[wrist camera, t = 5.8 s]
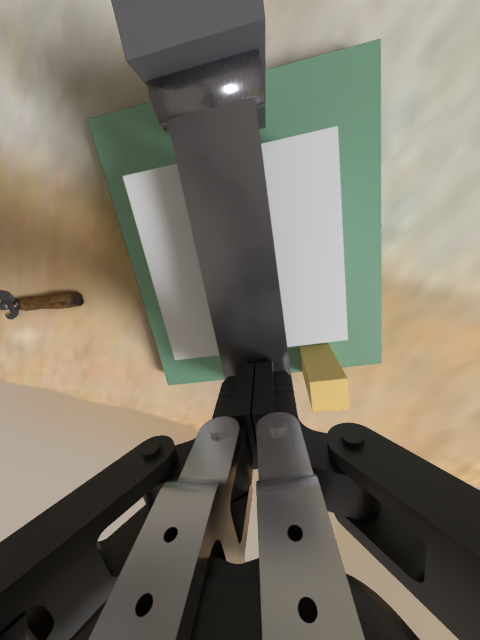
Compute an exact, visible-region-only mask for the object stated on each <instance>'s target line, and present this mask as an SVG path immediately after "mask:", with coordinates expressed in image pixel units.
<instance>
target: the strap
mask: <svg viewBox="0 0 480 640" xmlns="http://www.w3.org/2000/svg"><path fill="white" fill-rule="evenodd" d="M148 87H149V94H150V98H151V102H152V106H153V109H154V112H155V114H156V117H157V119H158V121H159V123H160V125H161V127H162V128H163V130H164V131H170V135H171V140H172V144H173V149H174V153H175V158H176V162H177V167H178V171H179V176H180V180H181V185H182V189H183V194H184V198H185V203H186V207H187V212H188V216H189V221H190V225H191V230H192V234H193V239H194V243H195V248H196V252H197V257H198V261H199V266H200V270H201V275H202V279H203V284H204V288H205V293H206V297H207V302H208V306H209V311H210V315H211V320H212V324H213V329H214V333H215V338H216V342H217V347H218V351H219V356H220V360H221V365H222V369H223V374H224V378H225V380H226V379H227V377H228V376H236V375H237V371H238V366H239V364H246V363H255V364H256V362H263V361H272V362H273V369H274V371H283V370H285V371H286V372H287V373H288V374H289V375H290V376H291V372H290V364H289V356H288V349H287V341H286V333H285V325H284V318H283V310H282V302H281V294H280V287H279V279H278V271H277V263H276V256H275V248H274V240H273V232H272V225H271V217H270V209H269V201H268V194H267V186H266V178H265V170H264V163H263V155H262V147H261V140H260V132H259V124H258V116H257V109H256V108H259V107H263V106H265V97H264V86H263V76H262V67H261V59H260V52H259V49H256V50H252V51H246V52H242V53H239V54H235V55H232V56H228V57H225V58H221V59H218V60H214V61H211V62H207V63H204V64H200V65H197V66H194V67H190V68H187V69H183V70H180V71H176V72H173V73H169V74H166V75H162V76H159V77H158V78H155V79H151V80H149V82H148Z"/></svg>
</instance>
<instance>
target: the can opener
mask: <svg viewBox="0 0 480 640" xmlns="http://www.w3.org/2000/svg"><path fill="white" fill-rule="evenodd" d="M0 300H1V303H0V310H6V309H9V310H10V311H11V315H10V316H7V315H5V316H6V318H8V319H14V318H16V317H17V315H18V310H25V311H28V310H37V309H61V308H71V307H76V306H81V305H82V304H83V303H84V301H83V297H82V295H81V294H80V293H63V294H54V295H48V296H43V297H32V298H22V299H20V300H16V299H14V298H13V297H12V295H11V294H10V293H9V292H7V291H3V290H0Z"/></svg>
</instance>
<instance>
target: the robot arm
mask: <svg viewBox="0 0 480 640" xmlns="http://www.w3.org/2000/svg"><path fill="white" fill-rule="evenodd" d="M253 469H258V472H259V481H257V484H256V490H257V517H258V541H259V558H258V559H255V560H252V561H249V562H246V563H245V547H246V540H247V532H248V524H249V516H250V508H251V501H252V493H253V488H252V472H253ZM142 497H143V498H144V500H145V503H146V505H145V506H144V507H143V508H141V509H140V510H139V511H138V512H137V513H136V514H134V515H133V516H132V517H131V518H130V519H129V520H128V521H126V522H125V523H124V524H123V525H122V526H121V527H120V528H118V529H117V530H116V531H115V532H114V533H113V534H112V535H111V536H109V537H108V538H107V539H105V540H103V541H99V542H98V541H97V540H98V538H99V536H100V534H101V533H102V532H103V531H104V530H105V529H106V528H107V527H108V526H109V525H110V524H111V523H113V522H114V521H115V520H116V519H117V518H118V517H120V516H121V515H122V514H123V513H124V512H126V511H127V510H128V509H129V508H130V507H131V506H133V505H134V504H135V503H136V502H137V501H138V500H140V498H142ZM328 511H329V512H333V513H334V514H335V516H336V518H337V520H338V521H339V522H340V524H341V525H342V526H343V527H345V529H346V530H347V531H348V532H350V534H352V535H353V536H354V537H355V538H356V539H357V540H358V541H359V542H360V543H361V544H362V545H363V546H364V547H365V548H366V549H367V550H368V551H369V552H370V553H371V554H372V555H373V556H374V557H375V558H376V559H377V560H378V561H379V562H380V563H382V564H383V566H385V568H386V569H387V570H388V571H389V572H391V574H392V575H394V576H395V577H396V578H397V579H398V580H399V581H400V582H401V583H402V584H403V585H404V586H405V587H406V588H407V589H408V590H409V591H410V592H411V593H412V594H413V595H414V596H415V597H416V598H417V599H418V600H419V601H420V602H421V603H422V604H423V605H424V606H425V607H427V609H428V610H429V611H430V612H432V613H433V615H434V616H436V617H437V618H438V619H439V620H440V621H441V622H442V623H443V624H444V625H445V626H446V627H447V628H448V629H449V630H450V631H451V632H452V633H453V634H454V635H455V636H456V637H457V638H458V639H459V640H480V490H478V489H476V488H474V487H473V486H471V485H469V484H467V483H465V482H464V481H462V480H460V479H458V478H456V477H455V476H453V475H451V474H449V473H447V472H446V471H444V470H442V469H440V468H439V467H437V466H435V465H433V464H431V463H430V462H428V461H426V460H424V459H422V458H421V457H419V456H417V455H415V454H413V453H412V452H410V451H408V450H406V449H405V448H403V447H401V446H399V445H397V444H396V443H394V442H392V441H390V440H388V439H387V438H385V437H383V436H381V435H379V434H378V433H376V432H374V431H372V430H371V429H369V428H367V427H365V426H362V425H360V424H355V423H341V424H338V425H335V426H334V427H332V428H331V429H330V430H329V431H328V433H322V432H317V431H314V430H311V429H309V428H307V427H306V426H304V425H303V424H302V423H301V422H300V420H299V418H298V415H297V409H296V403H295V397H294V391H293V385H292V379H291V376H290V375H289V374H288V373H287V372H286V371H285V370H283V371H274V369H273V362H272V361H263V362H256V364H255V363H246V364H239V366H238V371H237V375H236V376H228V377H227V379H226V380H225V381H224V382H223V383H222V386H221V389H220V393H219V396H218V400H217V403H216V407H215V410H214V414H213V417H212V419H211V420H209V421H208V422H206V423H205V424H204V425H203V426H202V427H201V428H200V430H199V432H198V435H197V437H196V438H195V439H193V440H191V441H188V442H185V443H182V444H179V445H174V442H173V440H172V439H171V438H170V437H168V436H155V437H152V438H150V439H147V440H146V441H144V442H142V443H141V444H140V445H138V446H137V447H135V448H134V449H133V450H131V451H130V452H128V453H127V454H125V455H124V456H122V457H121V458H120V459H119V460H117V461H115V462H114V463H112V464H111V465H110V466H108V467H107V468H105V469H104V470H103V471H101V472H100V473H98V474H97V475H95V476H94V477H93V478H91V479H90V480H88V481H87V482H85V483H84V484H83V485H81V486H80V487H78V488H77V489H75V490H74V491H73V492H71V493H70V494H68V495H67V496H65V497H64V498H63V499H61V500H60V501H58V502H57V503H56V504H54V505H53V506H51V507H50V508H49V509H47V510H46V511H44V512H43V513H41V514H40V515H38V516H37V517H36V518H34V519H33V520H31V521H30V522H29V523H27V524H26V525H24V526H23V527H21V528H20V529H19V530H17V531H16V532H14V533H13V534H12V535H10V536H9V537H7V538H6V539H4V540H3V541H1V542H0V640H420V639H419V638H418V637H417V636H416V635H415V634H414V632H413V631H412V630H411V629H410V628H409V627H408V626H407V624H406V623H405V622H404V621H403V620H402V619H401V618H400V616H399V615H398V614H397V613H396V612H395V611H394V610H393V609H392V608H391V607H390V606H389V605H388V604H387V603H386V602H385V601H384V600H383V599H382V598H381V597H380V596H379V595H378V594H377V593H375V592H374V591H373V590H371V589H370V588H369V587H368V586H366V585H365V584H364V583H362V582H360V581H359V580H357V579H356V578H354V577H352V576H350V575H348V574H346V573H345V570H344V566H343V563H342V560H341V556H340V553H339V549H338V546H337V542H336V539H335V535H334V532H333V529H332V525H331V522H330V518H329V515H328Z"/></svg>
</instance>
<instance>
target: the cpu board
mask: <svg viewBox="0 0 480 640" xmlns="http://www.w3.org/2000/svg"><path fill="white" fill-rule="evenodd" d="M111 2H112V6H113V10H114V14H115V18H116V22H117V26H118V30H119V34H120V38H121V42H122V46H123V50H124V54H125V58H126V61H127V62H128V64H129V65H130V66H131V67H132V68H133V69H134V71H135V72H136V73H137V74H138V75H139V77H140V78H141V79H142V80H143V81H144V83H145V84H146V85H147V86H148V82H149V80H151V79H155V78H158V77H159V76H162V75H166V74H169V73H173V72H176V71H180V70H183V69H187V68H190V67H194V66H197V65H200V64H204V63H207V62H211V61H214V60H218V59H221V58H225V57H228V56H232V55H235V54H239V53H242V52H246V51H252V50H256V49H259V52H260V59H261V67H262V76H263V86H264V97H265V106H263V107H259V108H256V109H257V116H258V124H259V132H260V140H261V147H262V155H263V163H264V170H265V178H266V186H267V194H268V201H269V209H270V217H271V225H272V232H273V240H274V248H275V256H276V263H277V271H278V279H279V287H280V294H281V302H282V310H283V318H284V325H285V333H286V341H287V349H288V356H289V364H290V372H291V373H292V372H303V376H304V380H305V384H306V388H307V392H308V396H309V400H310V404H311V408H312V412H319V411H332V410H344V409H349V401H348V382H347V377H346V375H345V373H344V371H343V369H342V368H341V367H350V366H360V365H370V364H379V363H382V362H381V45H380V39H377V40H374V41H370V42H366V43H363V44H359V45H355V46H352V47H348V48H344V49H341V50H337V51H333V52H330V53H326V54H323V55H319V56H315V57H312V58H308V59H304V60H301V61H297V62H293V63H290V64H286V65H283V66H279V67H275V68H272V69H268V70H265V13H264V4H263V0H111ZM88 123H89V126H90V129H91V132H92V136H93V139H94V142H95V146H96V149H97V152H98V155H99V159H100V162H101V165H102V169H103V172H104V175H105V179H106V182H107V185H108V188H109V192H110V195H111V198H112V202H113V205H114V208H115V211H116V215H117V218H118V221H119V225H120V228H121V231H122V234H123V238H124V241H125V244H126V248H127V251H128V254H129V257H130V261H131V264H132V267H133V271H134V274H135V277H136V280H137V284H138V287H139V290H140V294H141V297H142V300H143V304H144V307H145V310H146V313H147V317H148V320H149V323H150V327H151V330H152V333H153V336H154V340H155V343H156V346H157V350H158V353H159V356H160V359H161V363H162V366H163V369H164V373H165V376H166V379H167V382H168V385H175V384H185V383H195V382H204V381H214V380H224V379H225V378H224V374H223V369H222V365H221V360H220V356H219V351H218V347H217V342H216V338H215V333H214V329H213V324H212V320H211V315H210V311H209V306H208V302H207V297H206V293H205V288H204V284H203V279H202V275H201V270H200V266H199V261H198V257H197V252H196V248H195V243H194V239H193V234H192V230H191V225H190V221H189V216H188V212H187V207H186V203H185V198H184V194H183V189H182V185H181V180H180V176H179V171H178V167H177V162H176V158H175V153H174V149H173V144H172V140H171V135H170V131H164V130H163V128H162V127H161V125H160V123H159V121H158V119H157V117H156V114H155V112H154V109H153V106H152V102H148V103H144V104H140V105H137V106H133V107H130V108H126V109H122V110H119V111H115V112H111V113H108V114H104V115H100V116H97V117H93V118H89V119H88Z"/></svg>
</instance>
